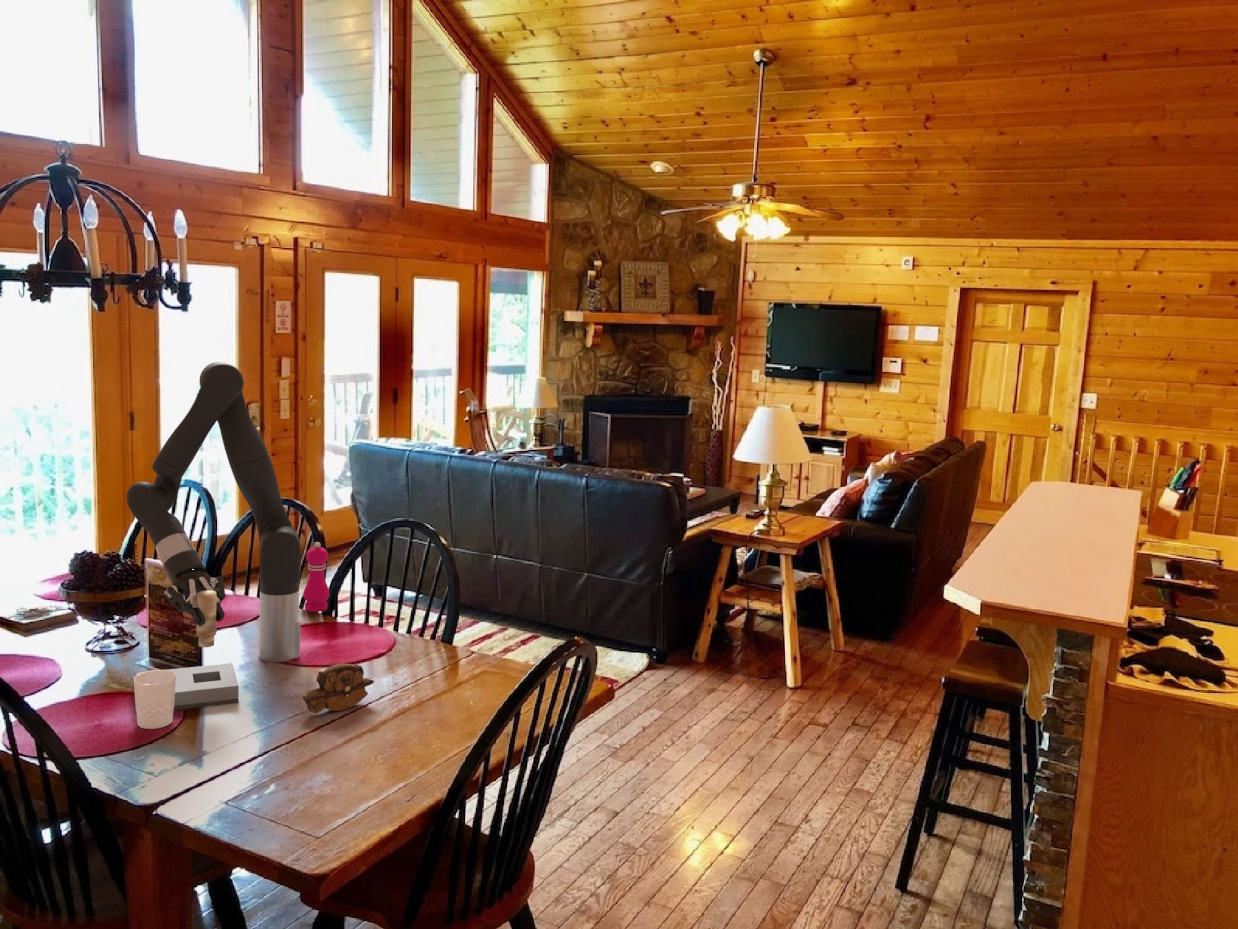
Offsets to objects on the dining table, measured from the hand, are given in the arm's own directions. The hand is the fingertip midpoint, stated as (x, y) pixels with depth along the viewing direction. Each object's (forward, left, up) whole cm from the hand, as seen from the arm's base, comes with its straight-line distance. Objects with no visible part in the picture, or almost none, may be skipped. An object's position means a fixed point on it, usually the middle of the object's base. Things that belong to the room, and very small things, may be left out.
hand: (211, 621), depth 212 cm
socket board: (+5, -2, -17) cm, 18 cm away
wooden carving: (-25, +15, -18) cm, 34 cm away
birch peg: (+1, -2, -6) cm, 6 cm away
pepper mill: (-32, -56, -18) cm, 67 cm away
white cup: (+12, +10, -18) cm, 24 cm away
